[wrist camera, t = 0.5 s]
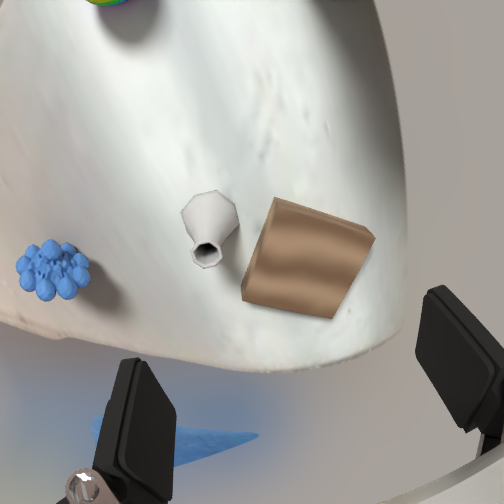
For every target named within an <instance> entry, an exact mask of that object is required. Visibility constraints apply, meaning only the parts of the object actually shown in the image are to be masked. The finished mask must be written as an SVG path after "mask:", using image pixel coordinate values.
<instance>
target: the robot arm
mask: <svg viewBox="0 0 504 504" xmlns="http://www.w3.org/2000/svg"><path fill="white" fill-rule="evenodd" d="M415 354H416V358H417V360H418V362H419V363H420V365H421V366H422V368H423V369H424V371H425V373H426V374H427V376H428V377H429V379H430V381H431V382H432V384H433V386H434V387H435V389H436V390H437V392H438V394H439V395H440V397H441V399H442V400H443V402H444V404H445V405H446V407H447V409H448V410H449V412H450V414H451V415H452V417H453V419H454V421H455V422H456V424H457V426H458V427H459V428H463V429H464V431H465V433H468V432H470V431H471V430H473V429H475V428H477V427H478V428H479V430H480V432H481V436H480V441H479V445H478V450H477V454H476V458H475V460H473V461H471V462H470V463H468V464H466V465H464V466H462V467H460V468H458V469H456V470H455V471H453V472H451V473H449V474H447V475H445V476H443V477H441V478H439V479H437V480H435V481H432V482H430V483H428V484H426V485H424V486H421V487H419V488H417V489H415V490H412V491H410V492H407V493H405V494H403V495H400V496H397V497H395V498H392V499H390V500H387V501H384V502H381V503H378V504H504V348H503V347H502V346H501V345H500V344H499V343H498V342H497V340H496V339H495V338H494V337H493V336H492V335H491V334H490V332H489V331H488V330H487V329H486V328H485V327H484V326H483V325H482V324H481V323H480V321H479V320H478V319H477V318H476V317H475V316H474V315H473V314H472V313H471V312H470V311H469V310H468V309H467V307H465V305H463V303H462V302H461V301H460V300H459V299H458V298H457V297H456V296H455V295H454V294H453V293H452V292H451V291H450V290H449V289H448V288H447V287H446V286H445V285H440V286H438V287H434V288H432V289H429V290H428V291H427V295H425V296H424V298H423V306H422V313H421V320H420V326H419V332H418V338H417V344H416V349H415ZM175 432H176V411H175V408H174V406H173V405H172V403H171V402H170V400H169V399H168V397H167V395H166V394H165V392H164V391H163V389H162V387H161V386H160V384H159V383H158V381H157V379H156V378H155V376H154V374H153V372H152V371H151V369H150V367H149V366H148V364H147V362H145V361H141V359H140V358H130V359H123V360H122V361H121V363H120V366H119V370H118V373H117V376H116V380H115V384H114V387H113V391H112V395H111V399H110V400H109V401H108V403H107V406H106V410H105V414H104V418H103V422H102V426H101V430H100V434H99V439H98V443H97V447H96V452H95V457H94V461H93V466H92V469H88V468H84V469H80V470H78V471H75V472H74V473H73V474H72V475H71V476H70V477H69V479H68V480H67V483H66V486H65V493H66V497H65V498H63V499H62V500H60V501H59V502H58V503H56V504H168V501H170V500H171V499H172V492H173V468H174V448H175Z"/></svg>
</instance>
